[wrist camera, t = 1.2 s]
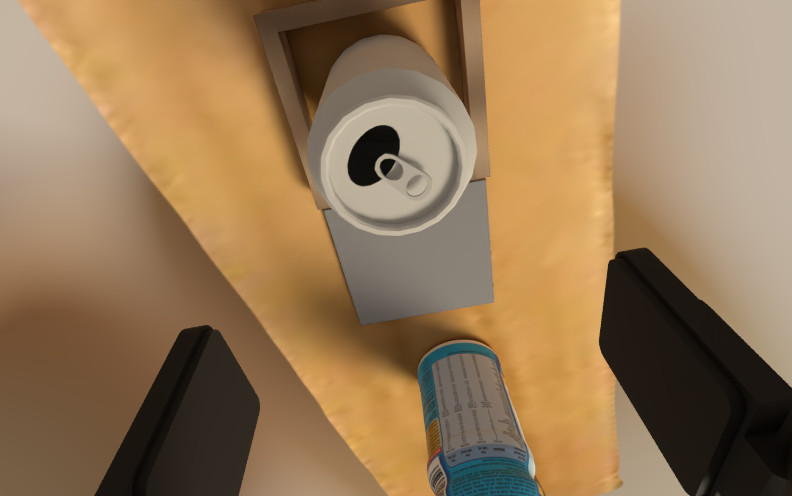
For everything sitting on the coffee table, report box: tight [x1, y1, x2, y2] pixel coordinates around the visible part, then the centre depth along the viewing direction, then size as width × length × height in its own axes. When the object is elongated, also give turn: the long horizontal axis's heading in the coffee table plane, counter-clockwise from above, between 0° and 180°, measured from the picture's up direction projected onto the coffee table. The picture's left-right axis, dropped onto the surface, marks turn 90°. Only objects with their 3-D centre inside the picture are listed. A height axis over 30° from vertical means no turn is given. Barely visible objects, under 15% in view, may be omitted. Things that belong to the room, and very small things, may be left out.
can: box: [307, 34, 477, 236], centre depth 22 cm, size 8×8×12 cm
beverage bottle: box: [418, 340, 544, 496], centre depth 34 cm, size 8×8×20 cm
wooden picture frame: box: [253, 0, 490, 210], centre depth 26 cm, size 12×12×2 cm
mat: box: [324, 178, 494, 325], centre depth 34 cm, size 12×12×1 cm
